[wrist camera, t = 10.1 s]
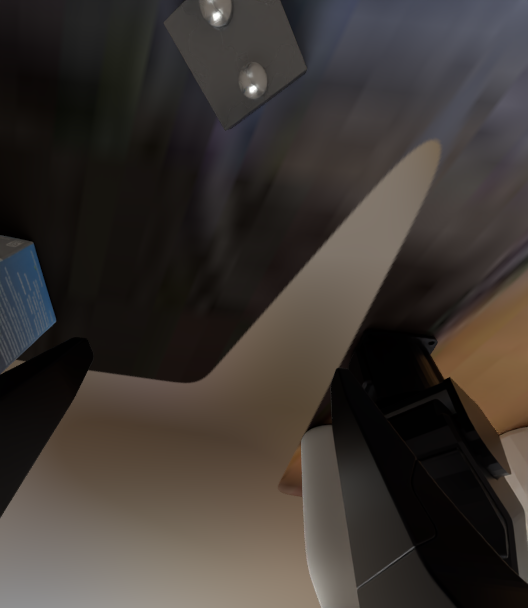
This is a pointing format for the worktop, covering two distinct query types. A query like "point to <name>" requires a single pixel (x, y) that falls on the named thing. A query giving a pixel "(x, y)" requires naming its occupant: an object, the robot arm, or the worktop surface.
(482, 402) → the worktop surface
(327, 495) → the milk bottle
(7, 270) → the label tape box
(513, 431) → the bottle
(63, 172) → the worktop surface
